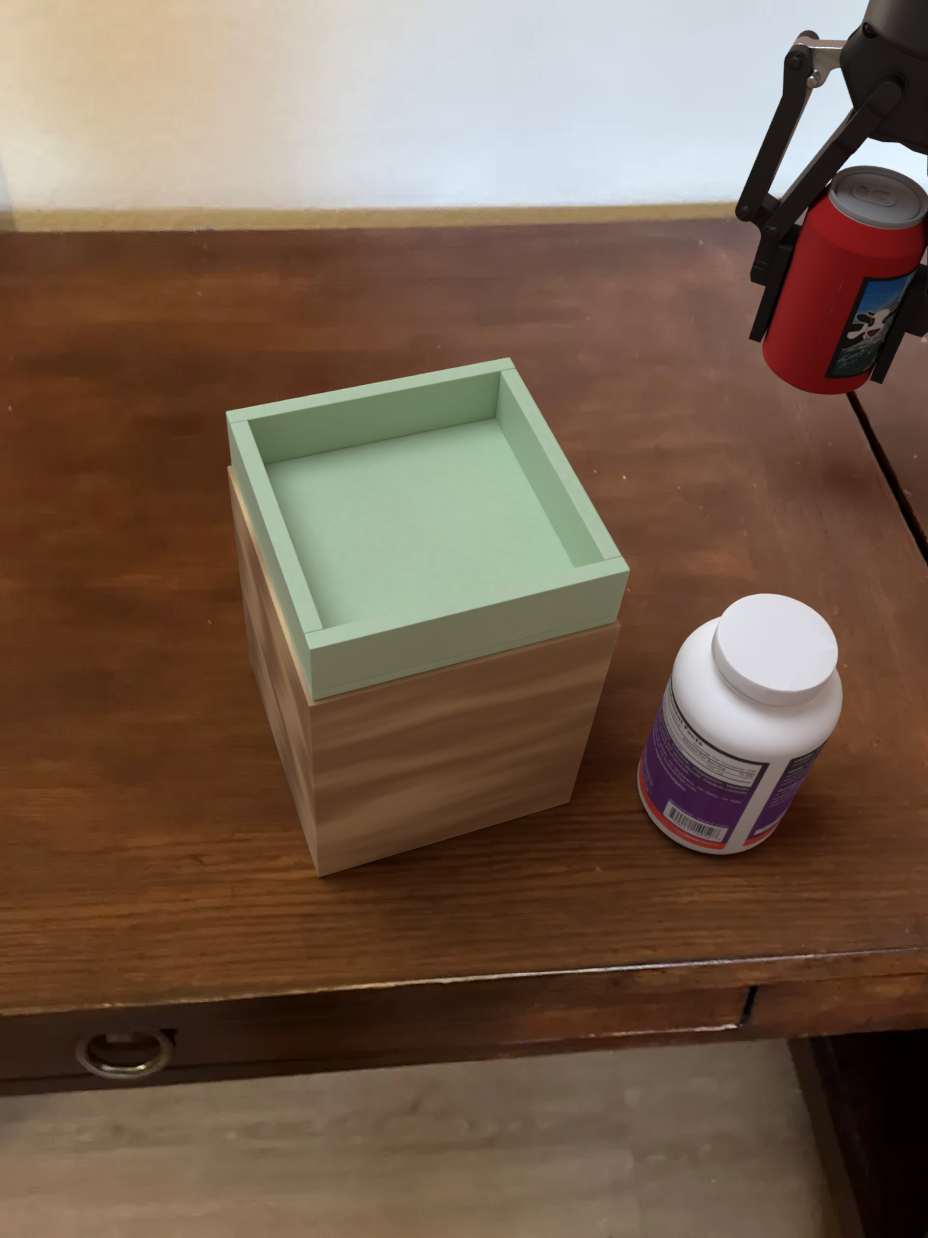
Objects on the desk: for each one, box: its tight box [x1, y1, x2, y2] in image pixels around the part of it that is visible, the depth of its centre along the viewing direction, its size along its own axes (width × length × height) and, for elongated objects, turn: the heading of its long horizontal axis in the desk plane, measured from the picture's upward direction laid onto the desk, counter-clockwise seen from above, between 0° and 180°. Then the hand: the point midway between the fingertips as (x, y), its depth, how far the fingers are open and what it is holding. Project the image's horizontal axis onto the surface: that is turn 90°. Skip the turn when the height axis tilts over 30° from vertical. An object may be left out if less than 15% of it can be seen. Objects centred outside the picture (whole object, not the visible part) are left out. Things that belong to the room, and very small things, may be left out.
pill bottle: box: [636, 593, 844, 855], centre depth 60 cm, size 8×8×14 cm
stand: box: [226, 465, 622, 878], centre depth 61 cm, size 14×14×16 cm
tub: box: [225, 357, 631, 700], centre depth 53 cm, size 14×14×4 cm
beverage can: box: [761, 164, 928, 396], centre depth 69 cm, size 7×7×12 cm
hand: (820, 347), depth 73 cm, fingers closed on beverage can, 7 cm apart
